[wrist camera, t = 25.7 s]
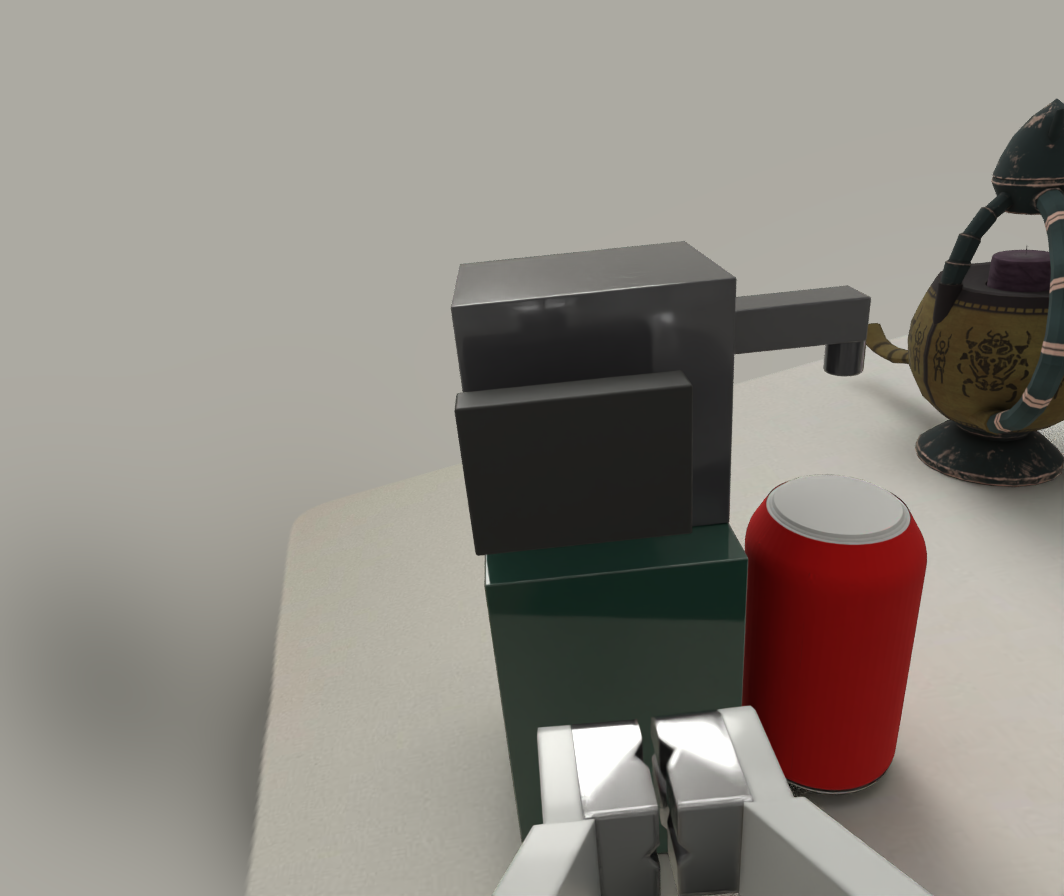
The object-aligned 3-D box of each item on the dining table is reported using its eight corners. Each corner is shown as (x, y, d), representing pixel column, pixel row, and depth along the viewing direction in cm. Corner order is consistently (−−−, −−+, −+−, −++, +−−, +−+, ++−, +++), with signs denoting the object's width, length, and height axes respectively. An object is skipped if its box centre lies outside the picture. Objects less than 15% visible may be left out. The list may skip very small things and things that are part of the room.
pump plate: (692, 534, 20) (693, 384, 18) (475, 557, 20) (454, 409, 18) (682, 512, 21) (682, 368, 19) (476, 533, 21) (456, 392, 19)
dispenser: (863, 832, 28) (949, 274, 18) (525, 868, 27) (446, 326, 18) (785, 680, 35) (820, 226, 26) (518, 709, 35) (459, 263, 26)
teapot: (1001, 533, 44) (1095, 108, 34) (797, 390, 66) (817, 109, 56) (1179, 501, 45) (1320, 83, 35) (920, 372, 67) (961, 94, 57)
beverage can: (822, 836, 27) (852, 573, 22) (707, 731, 32) (711, 496, 27) (925, 760, 30) (974, 508, 25) (804, 673, 35) (824, 448, 30)
